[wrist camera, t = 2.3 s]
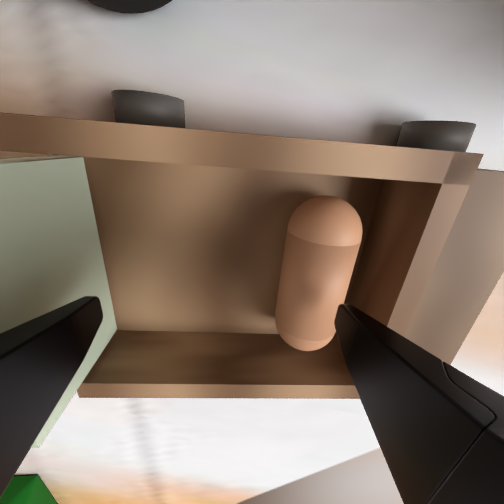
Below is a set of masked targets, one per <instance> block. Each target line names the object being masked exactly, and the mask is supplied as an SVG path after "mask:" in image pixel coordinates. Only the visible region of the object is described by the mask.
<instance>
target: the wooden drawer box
mask: <svg viewBox="0 0 504 504" xmlns="http://www.w3.org/2000/svg"><path fill="white" fill-rule="evenodd" d="M112 99H113V106H114V113H115V120H116V122H104V121H92V120H81V119H69V118H57V117H46V116H34V115H22V114H10V113H0V150H1V151H14V152H27V153H41V154H54V155H67V156H75V157H83V159H84V164H85V169H86V174H87V179H88V184H89V189H90V194H91V199H92V204H93V209H94V215H95V220H96V225H97V230H98V235H99V240H100V245H101V250H102V255H103V260H104V265H105V270H106V275H107V280H108V285H109V290H110V295H111V300H112V305H113V311H114V316H115V321H116V326H117V330H116V332H115V333H114V335H113V336H112V338H111V339H110V341H109V342H108V344H107V345H106V347H105V349H104V350H103V352H102V353H101V355H100V356H99V358H98V359H97V361H96V362H95V364H94V365H93V367H92V368H91V370H90V371H89V373H88V374H87V376H86V377H85V379H84V380H83V382H82V383H81V385H80V386H79V388H78V389H77V392H78V395H79V398H333V399H360V397H359V394H358V392H357V390H356V387H355V385H354V382H353V380H352V378H351V375H350V373H349V370H348V368H347V365H346V363H345V360H344V357H343V353H342V350H341V346H340V343H339V340H338V336H337V333H336V332H335V334H334V336H333V338H332V339H331V341H330V342H329V343H328V344H327V345H325V346H324V347H322V348H320V349H318V350H313V351H302V350H298V349H295V348H293V347H292V346H290V345H289V344H287V343H286V342H285V341H284V340H283V339H282V337H281V336H280V334H279V332H278V330H277V328H276V324H275V310H276V303H277V296H278V289H279V282H280V275H281V268H282V261H283V254H284V247H285V240H286V233H287V227H288V223H289V220H290V218H291V216H292V214H293V212H294V211H295V210H296V208H297V207H298V206H300V205H301V204H302V203H303V202H305V201H307V200H308V199H311V198H314V197H317V196H324V195H327V196H335V197H338V198H340V199H343V200H345V201H346V202H348V203H349V204H350V205H351V206H352V207H353V208H354V209H355V210H356V211H357V213H358V215H359V217H360V219H361V223H362V231H363V233H362V239H361V244H360V247H359V251H358V254H357V258H356V262H355V265H354V269H353V272H352V276H351V279H350V283H349V286H348V290H347V294H346V297H345V301H344V304H351V305H353V306H354V307H356V308H358V309H359V310H361V311H363V312H364V313H366V314H367V315H369V316H371V317H372V318H374V319H376V320H377V321H379V322H381V323H382V324H384V325H385V326H387V327H389V328H390V329H392V330H394V331H395V332H397V333H398V334H400V335H402V336H403V337H405V338H407V339H408V340H410V341H412V342H413V343H415V344H416V345H418V346H420V347H421V348H423V349H425V350H426V351H428V352H429V353H431V354H433V355H434V356H436V357H438V358H439V359H441V360H442V362H446V363H448V364H449V365H450V364H451V362H452V361H453V359H454V357H455V355H456V354H457V352H458V350H459V348H460V347H461V345H462V343H463V341H464V340H465V338H466V336H467V334H468V333H469V331H470V329H471V327H472V326H473V324H474V322H475V320H476V319H477V317H478V315H479V314H480V312H481V310H482V308H483V307H484V305H485V303H486V301H487V300H488V298H489V296H490V294H491V293H492V291H493V289H494V287H495V286H496V284H497V282H498V280H499V279H500V277H501V275H502V273H503V272H504V171H497V170H487V169H478V166H479V164H480V161H481V159H482V157H483V154H477V153H466V152H465V151H466V149H467V147H468V144H469V142H470V139H471V137H472V134H473V132H474V129H475V127H476V124H473V123H468V122H457V121H411V122H405V123H403V124H402V128H401V131H400V135H399V138H398V141H397V145H396V146H384V145H372V144H361V143H349V142H337V141H326V140H314V139H302V138H291V137H279V136H267V135H256V134H244V133H232V132H221V131H209V130H197V129H186V128H185V115H184V101H183V100H181V99H179V98H176V97H172V96H168V95H163V94H157V93H151V92H144V91H134V90H114V91H112Z"/></svg>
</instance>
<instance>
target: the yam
mask: <svg viewBox="0 0 504 504" xmlns="http://www.w3.org/2000/svg"><path fill="white" fill-rule="evenodd" d="M362 233H363V231H362V223H361V219H360V217H359V215H358V213H357V211H356V210H355V209H354V208H353V207H352V206H351V205H350V204H349V203H348V202H346V201H345V200H343V199H340V198H338V197H335V196H327V195H324V196H317V197H314V198H311V199H308V200H307V201H305V202H303V203H302V204H301V205H300V206H298V207H297V208H296V210H295V211H294V212H293V214H292V216H291V218H290V220H289V223H288V227H287V233H286V240H285V247H284V254H283V261H282V268H281V275H280V282H279V289H278V296H277V303H276V310H275V324H276V328H277V330H278V332H279V334H280V336H281V337H282V339H283V340H284V341H285V342H286V343H287V344H289V345H290V346H292V347H293V348H295V349H298V350H302V351H313V350H318V349H320V348H322V347H324V346H325V345H327V344H328V343H329V342H330V341H331V339H332V338H333V336H334V334H335V332H336V329H335V325H334V320H335V316H336V313H337V309H338V306H339V305H340V304H344V301H345V297H346V294H347V290H348V286H349V283H350V279H351V276H352V272H353V269H354V265H355V262H356V258H357V254H358V251H359V247H360V244H361V239H362Z"/></svg>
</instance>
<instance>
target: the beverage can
mask: <svg viewBox="0 0 504 504" xmlns="http://www.w3.org/2000/svg"><path fill="white" fill-rule="evenodd" d="M88 1H90V2H92V3H94V4H96V5H98V6H100V7H103V8H106V9H109V10H112V11H116V12H121V13H144V12H148V11H152V10H155V9H158V8H160V7H162V6H164V5H166V4H168V3H169V2H171V1H172V0H88Z"/></svg>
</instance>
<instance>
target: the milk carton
mask: <svg viewBox="0 0 504 504" xmlns="http://www.w3.org/2000/svg"><path fill="white" fill-rule="evenodd" d="M0 504H57V502H56V501H55V499H54V498H53V496H52V495H51V493H50V492H49V490H48V489H47V487H46V486H45V485H44V483H43V482H42V480H41V479H40V477H39V476H38V475H28V476H13V478H12V479H11V481H10V483H9V484H8V486H7V488H6V489H5V491H4V493H3V494H2V496H1V498H0Z"/></svg>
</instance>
